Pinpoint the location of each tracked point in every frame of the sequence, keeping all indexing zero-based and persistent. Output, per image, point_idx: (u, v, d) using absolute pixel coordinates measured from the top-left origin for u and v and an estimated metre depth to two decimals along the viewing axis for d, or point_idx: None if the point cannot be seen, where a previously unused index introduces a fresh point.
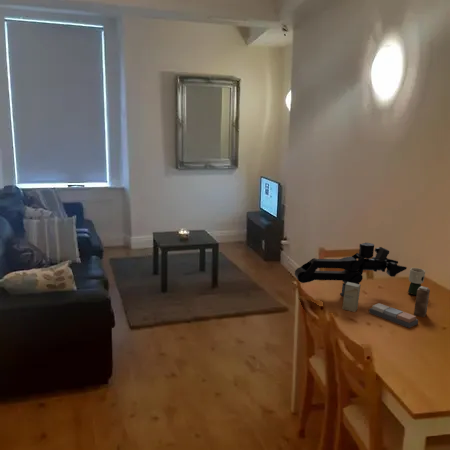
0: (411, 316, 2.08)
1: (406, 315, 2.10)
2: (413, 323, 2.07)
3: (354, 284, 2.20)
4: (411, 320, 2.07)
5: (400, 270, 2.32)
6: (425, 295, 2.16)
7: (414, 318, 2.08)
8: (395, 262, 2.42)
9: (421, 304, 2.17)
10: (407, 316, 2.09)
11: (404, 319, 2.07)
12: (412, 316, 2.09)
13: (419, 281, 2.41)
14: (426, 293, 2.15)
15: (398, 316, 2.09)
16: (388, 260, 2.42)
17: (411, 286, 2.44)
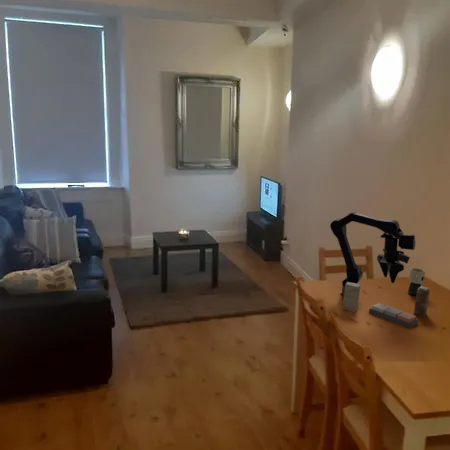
0: (411, 316, 2.08)
1: (406, 315, 2.10)
2: (413, 323, 2.07)
3: (354, 284, 2.20)
4: (411, 320, 2.07)
5: (392, 276, 2.21)
6: (425, 295, 2.16)
7: (414, 318, 2.08)
8: (385, 274, 2.31)
9: (421, 304, 2.17)
10: (407, 316, 2.09)
11: (404, 319, 2.07)
12: (412, 316, 2.09)
13: (419, 281, 2.41)
14: (426, 293, 2.15)
15: (398, 316, 2.09)
16: (387, 267, 2.31)
17: (411, 286, 2.44)
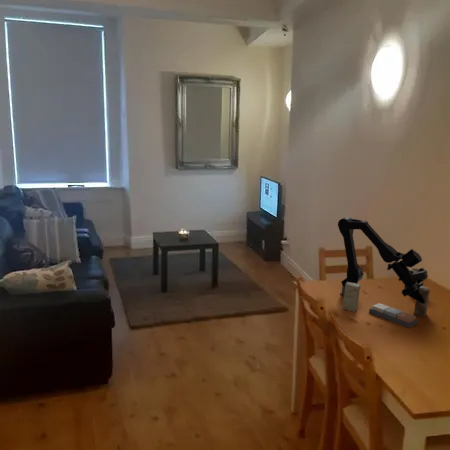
0: (411, 316, 2.08)
1: (406, 315, 2.10)
2: (413, 323, 2.07)
3: (354, 284, 2.20)
4: (411, 320, 2.07)
5: (416, 298, 2.17)
6: (425, 295, 2.16)
7: (414, 318, 2.08)
8: None
9: (421, 304, 2.17)
10: (407, 316, 2.09)
11: (404, 319, 2.07)
12: (412, 316, 2.09)
13: None
14: (426, 293, 2.15)
15: (398, 316, 2.09)
16: None
17: None
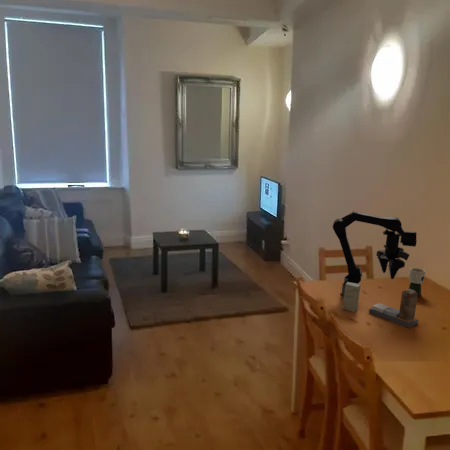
0: None
1: None
2: (413, 323, 2.07)
3: (354, 284, 2.20)
4: None
5: (392, 272, 2.25)
6: (408, 298, 2.05)
7: None
8: (384, 270, 2.36)
9: (405, 307, 2.07)
10: None
11: None
12: None
13: (419, 281, 2.41)
14: (409, 296, 2.04)
15: None
16: (386, 262, 2.35)
17: (411, 286, 2.44)
